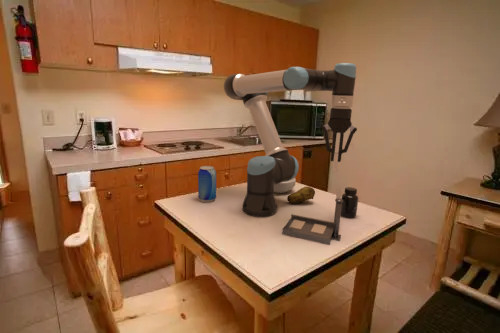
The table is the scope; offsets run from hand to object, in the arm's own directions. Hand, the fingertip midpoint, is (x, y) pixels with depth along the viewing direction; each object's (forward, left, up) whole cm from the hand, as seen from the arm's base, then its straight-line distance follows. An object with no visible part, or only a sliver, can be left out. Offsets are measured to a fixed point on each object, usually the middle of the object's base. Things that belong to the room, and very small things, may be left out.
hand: (334, 169), depth 110 cm
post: (+4, -13, -22) cm, 26 cm away
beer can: (-57, -2, -22) cm, 61 cm away
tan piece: (+3, -3, -16) cm, 16 cm away
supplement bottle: (+6, +11, -22) cm, 25 cm away
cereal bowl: (-31, +28, -22) cm, 47 cm away
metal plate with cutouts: (-5, -13, -22) cm, 26 cm away
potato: (-16, +15, -22) cm, 31 cm away
